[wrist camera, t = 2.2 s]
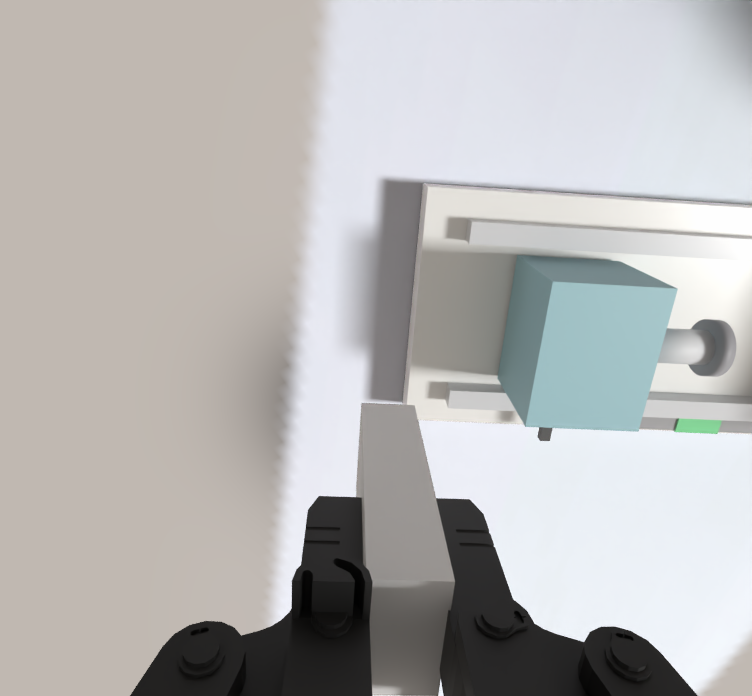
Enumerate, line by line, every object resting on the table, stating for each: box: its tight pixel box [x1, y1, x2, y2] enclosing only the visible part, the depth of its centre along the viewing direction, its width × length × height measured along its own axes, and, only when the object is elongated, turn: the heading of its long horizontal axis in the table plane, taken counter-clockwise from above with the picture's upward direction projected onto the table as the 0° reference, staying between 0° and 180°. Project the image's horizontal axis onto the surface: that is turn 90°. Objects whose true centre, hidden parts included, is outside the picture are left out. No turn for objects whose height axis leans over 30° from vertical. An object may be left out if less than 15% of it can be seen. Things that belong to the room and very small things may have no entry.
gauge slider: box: [497, 255, 736, 441], centre depth 25 cm, size 9×9×5 cm
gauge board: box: [402, 183, 752, 434], centre depth 25 cm, size 12×29×10 cm, turn 86°
